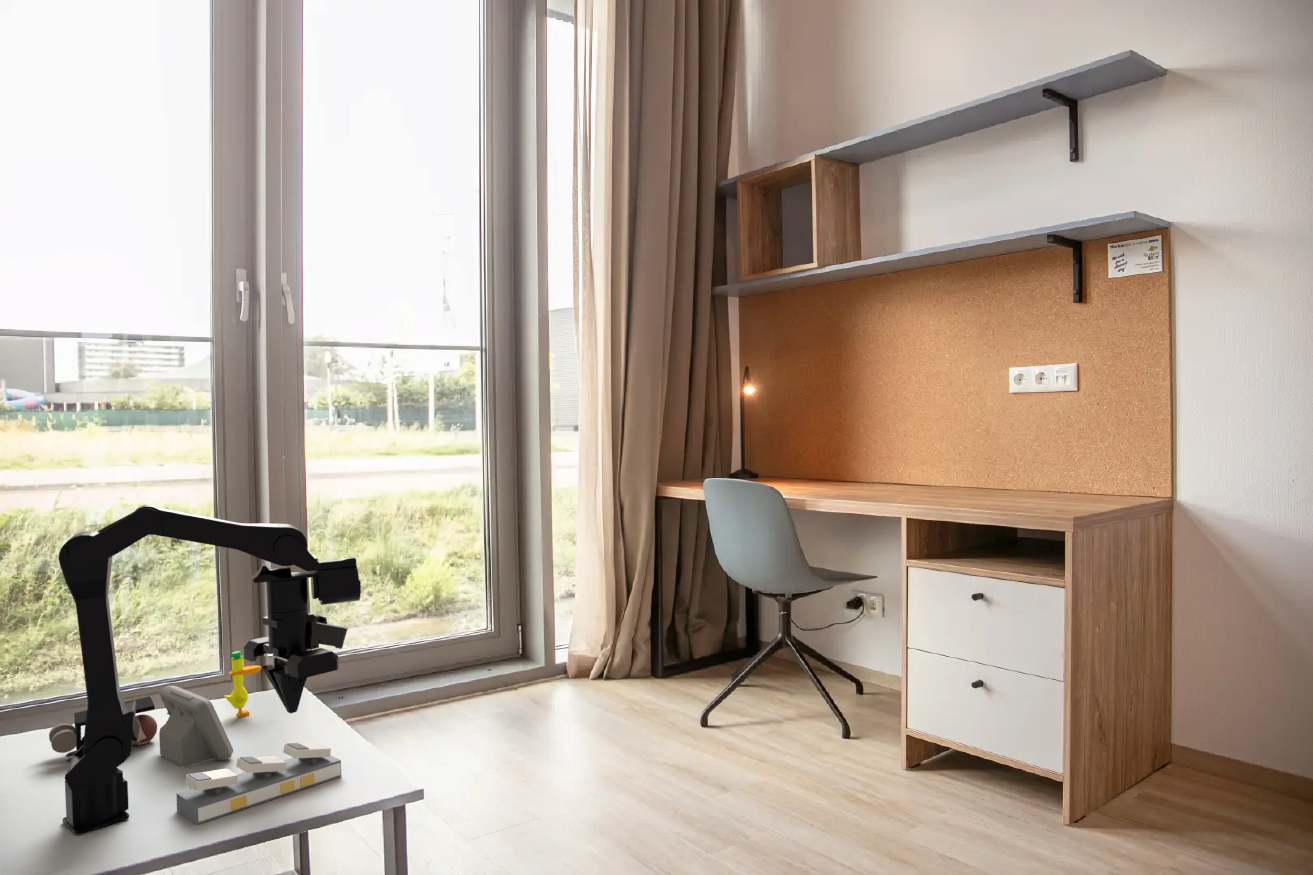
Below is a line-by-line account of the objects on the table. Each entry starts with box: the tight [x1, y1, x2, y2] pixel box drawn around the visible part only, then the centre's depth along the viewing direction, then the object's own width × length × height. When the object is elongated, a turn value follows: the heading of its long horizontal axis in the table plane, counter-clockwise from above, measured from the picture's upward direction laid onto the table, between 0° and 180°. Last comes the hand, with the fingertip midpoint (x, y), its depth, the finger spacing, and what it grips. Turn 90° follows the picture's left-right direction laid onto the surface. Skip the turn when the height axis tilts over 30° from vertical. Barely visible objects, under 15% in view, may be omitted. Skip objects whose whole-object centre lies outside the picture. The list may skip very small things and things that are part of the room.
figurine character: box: [48, 695, 158, 762], centre depth 152 cm, size 7×8×15 cm
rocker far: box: [282, 742, 332, 758], centre depth 137 cm, size 6×4×1 cm
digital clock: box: [158, 685, 234, 768], centre depth 149 cm, size 16×9×11 cm, turn 38°
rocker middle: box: [235, 755, 287, 773], centre depth 132 cm, size 6×4×1 cm
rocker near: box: [185, 768, 238, 791], centre depth 127 cm, size 6×4×1 cm
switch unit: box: [175, 754, 342, 825], centre depth 132 cm, size 21×7×3 cm, turn 138°
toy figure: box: [223, 650, 262, 718], centre depth 169 cm, size 7×4×12 cm, turn 127°
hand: (292, 712), depth 136 cm, fingers closed
